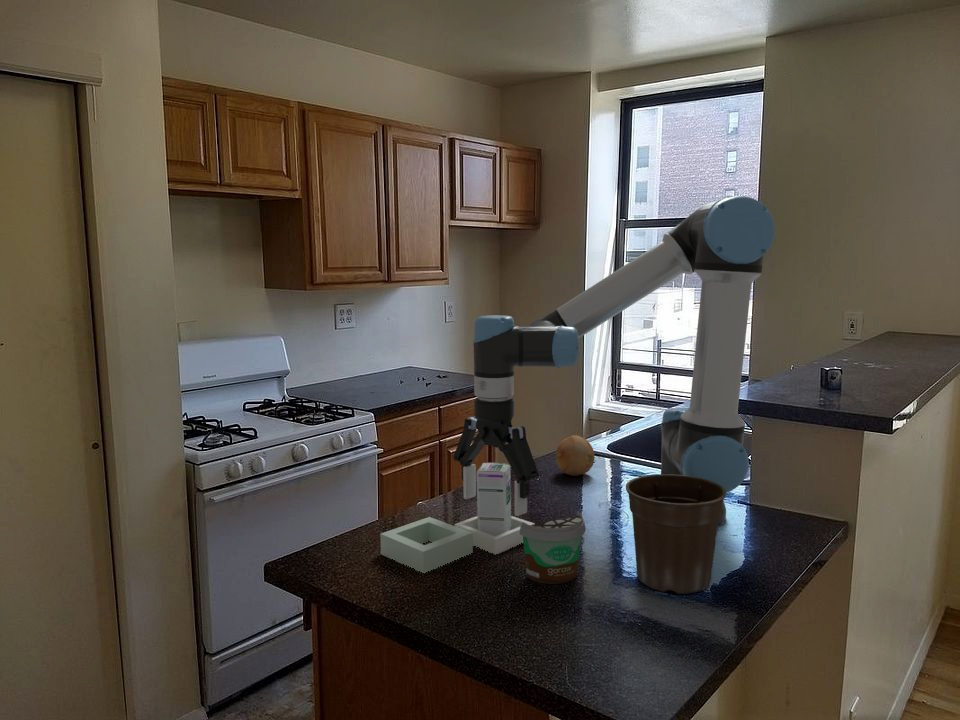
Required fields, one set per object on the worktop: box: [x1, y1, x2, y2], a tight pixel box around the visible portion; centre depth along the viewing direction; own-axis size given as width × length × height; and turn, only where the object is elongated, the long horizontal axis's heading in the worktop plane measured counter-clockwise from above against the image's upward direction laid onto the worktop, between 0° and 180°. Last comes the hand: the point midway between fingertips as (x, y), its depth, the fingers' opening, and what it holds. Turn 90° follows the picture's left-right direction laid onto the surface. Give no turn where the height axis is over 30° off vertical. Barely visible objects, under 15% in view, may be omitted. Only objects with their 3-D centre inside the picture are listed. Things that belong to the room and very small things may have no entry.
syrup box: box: [476, 462, 512, 536], centre depth 141 cm, size 6×6×14 cm
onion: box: [555, 434, 595, 477], centre depth 182 cm, size 10×10×10 cm
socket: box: [379, 516, 474, 574], centre depth 135 cm, size 12×12×4 cm
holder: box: [453, 515, 536, 556], centre depth 142 cm, size 11×11×3 cm
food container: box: [519, 510, 587, 585], centre depth 124 cm, size 12×6×10 cm, turn 117°
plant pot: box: [625, 473, 727, 595], centre depth 123 cm, size 16×16×16 cm
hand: (494, 505), depth 141 cm, fingers open, 13 cm apart
